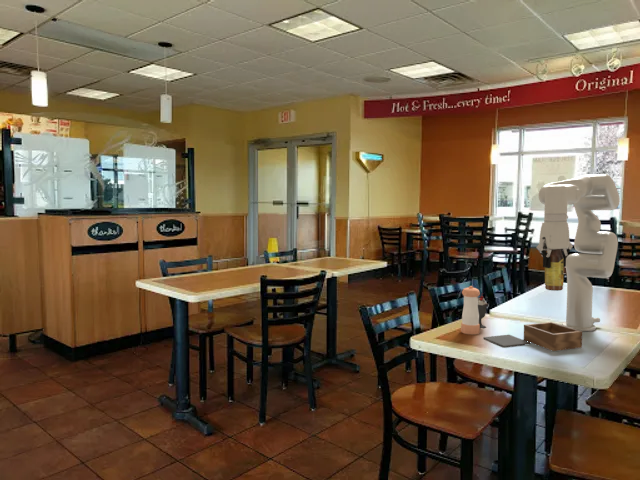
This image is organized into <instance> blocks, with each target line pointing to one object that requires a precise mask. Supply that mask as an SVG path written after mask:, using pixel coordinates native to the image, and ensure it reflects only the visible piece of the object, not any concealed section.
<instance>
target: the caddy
mask: <svg viewBox="0 0 640 480" xmlns="http://www.w3.org/2000/svg"><path fill="white" fill-rule="evenodd" d="M523 340H525V341H528V342H531V344H533V345H535V344H536V346H538V345H539V347H541V348H543V347H544V349H546V350H549V351H551V350H552V351H551V352H557V351H565V350H566V351H567V350H573V349H574V350H575V349H581V348H583V331H579V330H576V329H572V328H569V327H566V326H563V325H562V324H559V323H555V322H552V321H549V322H538V323H529V324H523Z"/></svg>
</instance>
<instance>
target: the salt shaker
mask: <svg viewBox="0 0 640 480" xmlns="http://www.w3.org/2000/svg"><path fill="white" fill-rule="evenodd" d="M461 293H462V296H463V308H462V315H461V323H460V331H461V333H463V334H465V335H479V334H480V333H481V332H480V330H481V328H480V325H479V312H478V297H480V296H481V293H480V290H479V289H478V288H476V287H474V286H473V285H470V286H468V287H464V288H463V289H462V291H461Z"/></svg>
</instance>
